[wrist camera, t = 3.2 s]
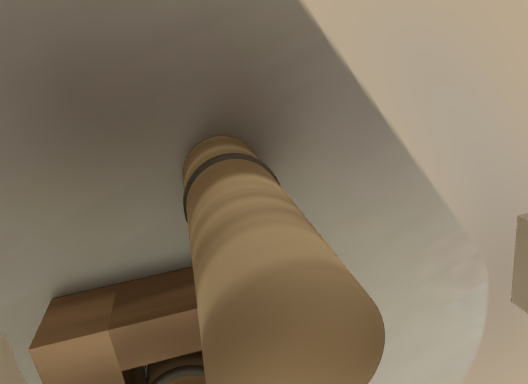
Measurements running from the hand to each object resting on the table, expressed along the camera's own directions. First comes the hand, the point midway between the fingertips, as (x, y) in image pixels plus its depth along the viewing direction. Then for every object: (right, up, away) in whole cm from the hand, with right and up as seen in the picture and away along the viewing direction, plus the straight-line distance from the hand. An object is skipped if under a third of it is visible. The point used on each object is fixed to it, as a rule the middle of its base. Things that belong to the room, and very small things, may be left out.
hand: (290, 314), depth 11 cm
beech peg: (-3, +4, +11) cm, 12 cm away
